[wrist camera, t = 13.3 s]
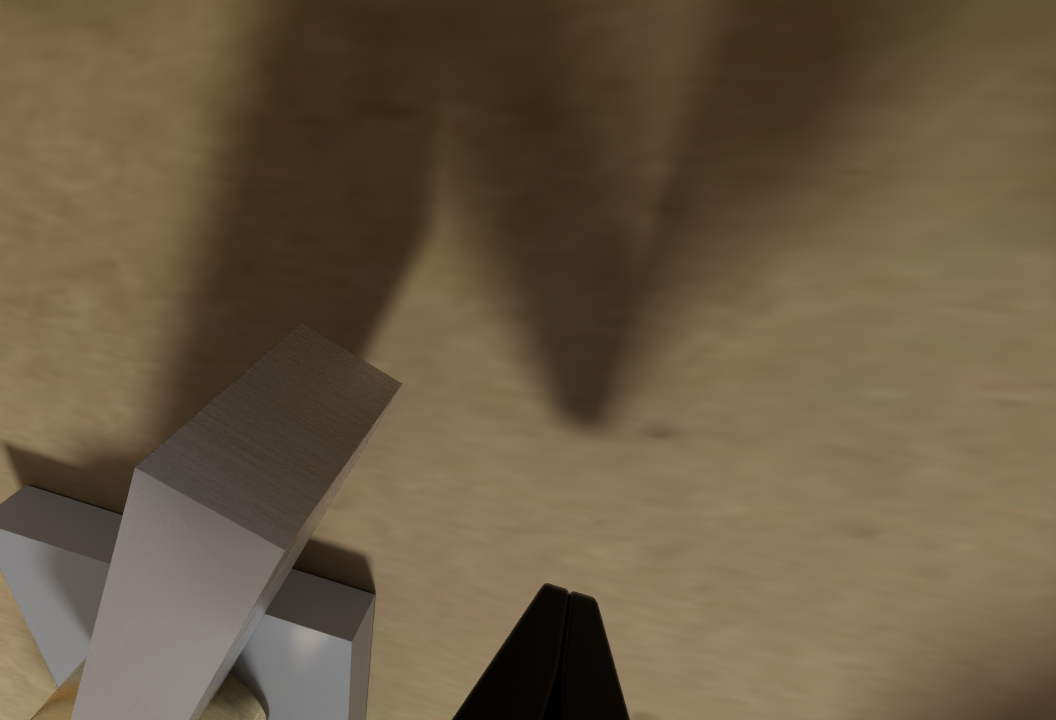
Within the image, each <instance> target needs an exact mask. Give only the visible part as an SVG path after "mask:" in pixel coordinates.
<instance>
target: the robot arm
mask: <svg viewBox="0 0 1056 720" xmlns="http://www.w3.org/2000/svg"><path fill="white" fill-rule="evenodd" d="M452 720H630V719H629V715H628V711H627V708H626V704H625V701H624V697H623V693H622V690H621V686H620V682H619V679H618V675H617V672H616V668H615V664H614V661H613V657H612V653H611V650H610V646H609V643H608V639H607V635H606V632H605V628H604V625H603V621H602V617H601V614H600V610H599V606H598V603H597V601H596V600H595V599H594V598H593V597H591V596H588V595H585V594H581V593H578V592H574V591H573V592H571V593H570V594H569V592H568V590H567V589H565V588H562V587H559V586H555V585H552V584H549V583H546V584H544V585H543V586H542V587H541V589H540V590H539V591H538V593H537V594H536V596H535V597H534V599H533V600H532V602H531V603H530V605H529V606H528V608H527V609H526V611H525V612H524V614H523V615H522V617H521V618H520V620H519V621H518V623H517V624H516V626H515V627H514V629H513V630H512V632H511V633H510V634H509V636H508V637H507V639H506V640H505V642H504V643H503V645H502V646H501V648H500V649H499V651H498V652H497V654H496V655H495V657H494V658H493V660H492V661H491V663H490V664H489V666H488V667H487V669H486V670H485V672H484V673H483V674H482V676H481V677H480V679H479V680H478V682H477V683H476V685H475V686H474V688H473V689H472V691H471V692H470V694H469V695H468V697H467V698H466V700H465V701H464V703H463V704H462V706H461V707H460V709H459V710H458V712H457V713H456V715H455V716H454V717H453V719H452Z"/></svg>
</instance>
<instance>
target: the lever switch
mask: <svg viewBox="0 0 1056 720" xmlns="http://www.w3.org/2000/svg"><path fill="white" fill-rule="evenodd" d="M401 385H402V383H400V382H398V381H397V380H395V379H393V378H392V377H390V376H388V375H387V374H385V373H384V372H382V371H380V370H379V369H377V368H375V367H374V366H372V365H370V364H369V363H367V362H366V361H364V360H362V359H361V358H359V357H357V356H356V355H354V354H352V353H351V352H349V351H347V350H346V349H344V348H343V347H341V346H339V345H338V344H336V343H334V342H333V341H331V340H329V339H328V338H326V337H325V336H323V335H321V334H320V333H318V332H316V331H315V330H313V329H311V328H310V327H308V326H307V325H305V324H303V323H301V324H299V325H298V326H297V327H296V328H295V329H294V330H293V331H291V332H290V333H289V334H288V335H287V336H286V337H284V338H283V339H282V340H281V341H280V342H279V343H278V344H276V345H275V346H274V347H273V348H272V349H271V350H270V351H268V352H267V353H266V354H265V355H264V356H263V357H261V358H260V359H259V360H258V361H257V362H256V363H255V364H253V365H252V366H251V367H250V368H249V369H248V370H247V371H245V372H244V373H243V374H242V375H241V376H240V377H238V378H237V379H236V380H235V381H234V382H233V383H232V384H230V385H229V386H228V387H227V388H226V389H225V390H224V391H222V392H221V393H220V394H219V395H218V396H217V397H215V398H214V399H213V400H212V401H211V402H210V403H209V404H207V405H206V406H205V407H204V408H203V409H202V410H200V411H199V412H198V413H197V414H196V415H195V416H194V417H192V418H191V419H190V420H189V421H188V422H187V423H186V424H184V425H183V426H182V427H181V428H180V429H179V430H177V431H176V432H175V433H174V434H173V435H172V436H171V437H169V438H168V439H167V440H166V441H165V442H164V443H163V444H161V445H160V446H159V447H158V448H157V449H156V450H154V451H153V452H152V453H151V454H150V455H149V456H148V457H146V458H145V459H144V460H143V461H142V462H141V463H140V464H138V465H137V466H136V467H135V470H134V473H133V477H132V481H131V485H130V489H129V493H128V497H127V501H126V505H125V509H124V513H123V517H122V521H121V524H120V528H119V532H118V536H117V540H116V544H115V548H114V552H113V556H112V560H111V564H110V568H109V572H108V575H107V579H106V583H105V587H104V591H103V595H102V599H101V603H100V607H99V611H98V615H97V619H96V623H95V626H94V630H93V634H92V638H91V642H90V646H89V650H88V654H87V656H86V657H85V659H84V660H83V661H82V662H81V663H80V664H79V665H78V666H77V668H76V669H75V670H74V671H73V672H72V673H71V674H70V675H69V677H68V678H67V679H66V680H65V681H64V682H63V683H62V684H61V686H60V687H59V688H58V689H57V690H56V691H55V692H54V693H53V694H52V696H51V697H50V698H49V699H48V700H47V701H46V702H45V703H44V705H43V706H42V707H41V708H40V709H39V710H38V711H37V712H36V714H35V715H34V716H33V717H32V718H31V719H30V720H267V719H266V716H265V713H264V711H263V709H262V707H261V705H260V704H259V702H258V701H257V699H256V698H255V697H254V696H253V694H252V693H251V692H250V691H249V690H248V689H247V688H246V687H245V686H244V685H243V684H242V683H241V682H239V681H238V680H237V679H236V678H235V677H233V676H232V675H231V674H229V672H230V670H231V669H232V667H233V665H234V664H235V662H236V660H237V659H238V657H239V655H240V654H241V652H242V650H243V649H244V647H245V645H246V644H247V642H248V640H249V639H250V637H251V635H252V634H253V632H254V630H255V629H256V627H257V625H258V624H259V622H260V620H261V619H262V617H263V615H264V614H265V612H266V610H267V609H268V607H269V605H270V604H271V602H272V600H273V599H274V597H275V595H276V594H277V592H278V590H279V589H280V587H281V585H282V584H283V582H284V580H285V579H286V577H287V575H288V574H289V572H290V570H291V569H292V567H293V565H294V563H295V562H296V560H297V558H298V557H299V555H300V553H301V552H302V550H303V548H304V547H305V545H306V543H307V542H308V540H309V538H310V537H311V535H312V533H313V532H314V530H315V528H316V527H317V525H318V523H319V522H320V520H321V518H322V517H323V515H324V513H325V512H326V510H327V508H328V507H329V505H330V503H331V502H332V500H333V498H334V497H335V495H336V493H337V492H338V490H339V488H340V487H341V485H342V483H343V482H344V480H345V478H346V477H347V475H348V473H349V472H350V470H351V468H352V467H353V465H354V463H355V462H356V460H357V458H358V457H359V455H360V453H361V452H362V450H363V448H364V447H365V445H366V443H367V442H368V440H369V438H370V437H371V435H372V433H373V432H374V430H375V428H376V427H377V425H378V423H379V422H380V420H381V418H382V417H383V415H384V413H385V412H386V410H387V408H388V407H389V405H390V403H391V402H392V400H393V398H394V397H395V395H396V393H397V392H398V390H399V388H400V387H401Z"/></svg>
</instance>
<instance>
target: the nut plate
mask: <svg viewBox="0 0 1056 720" xmlns="http://www.w3.org/2000/svg"><path fill="white" fill-rule="evenodd" d="M122 517H123V515H120V514H117V513H114V512H111V511H108V510H104V509H101V508H98V507H95V506H92V505H88V504H85V503H82V502H79V501H76V500H73V499H69V498H66V497H63V496H60V495H57V494H54V493H50V492H47V491H44V490H41V489H38V488H35V487H31V486H28V485H25V486H24V487H23V488H21V489H20V490H19V491H17V492H16V493H15V494H13V495H12V496H11V497H9V498H8V499H7V500H5V501H4V502H3V503H1V504H0V569H1V571H2V573H3V575H4V577H5V579H6V582H7V584H8V586H9V588H10V590H11V592H12V594H13V596H14V598H15V600H16V602H17V604H18V606H19V608H20V610H21V612H22V614H23V617H24V619H25V621H26V623H27V625H28V627H29V629H30V631H31V633H32V635H33V637H34V639H35V641H36V643H37V645H38V647H39V649H40V652H41V654H42V656H43V658H44V660H45V662H46V664H47V666H48V668H49V670H50V672H51V674H52V676H53V678H54V680H55V682H56V685H57V687H58V688H59V687H60V686H61V684H62V683H63V682H64V681H65V680H66V679H67V678H68V677H69V675H70V674H71V673H72V672H73V671H74V670H75V669H76V668H77V666H78V665H79V664H80V663H81V662H82V661H83V660H84V659H85V657H86V656H87V654H88V650H89V646H90V642H91V638H92V634H93V630H94V626H95V623H96V619H97V615H98V611H99V607H100V603H101V599H102V595H103V591H104V587H105V583H106V579H107V575H108V572H109V568H110V564H111V560H112V556H113V552H114V548H115V544H116V540H117V536H118V532H119V528H120V524H121V521H122ZM374 604H375V595H374V594H371V593H368V592H365V591H361V590H358V589H355V588H352V587H349V586H346V585H342V584H339V583H336V582H333V581H330V580H327V579H323V578H320V577H317V576H314V575H311V574H308V573H304V572H301V571H298V570H295V569H291V570H290V572H289V574H288V575H287V577H286V579H285V580H284V582H283V584H282V585H281V587H280V589H279V590H278V592H277V594H276V595H275V597H274V599H273V600H272V602H271V604H270V605H269V607H268V609H267V610H266V612H265V614H264V615H263V617H262V619H261V620H260V622H259V624H258V625H257V627H256V629H255V630H254V632H253V634H252V635H251V637H250V639H249V640H248V642H247V644H246V645H245V647H244V649H243V650H242V652H241V654H240V655H239V657H238V659H237V660H236V662H235V664H234V665H233V667H232V669H231V670H230V672H229V674H231V675H232V676H233V677H235V678H236V679H237V680H238V681H239V682H241V683H242V684H243V685H244V686H245V687H246V688H247V689H248V690H249V691H250V692H251V693H252V694H253V696H254V697H255V698H256V699H257V701H258V702H259V704H260V705H261V707H262V709H263V711H264V713H265V716H266V719H267V720H365V718H366V705H367V693H368V680H369V667H370V655H371V642H372V630H373V617H374Z"/></svg>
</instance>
